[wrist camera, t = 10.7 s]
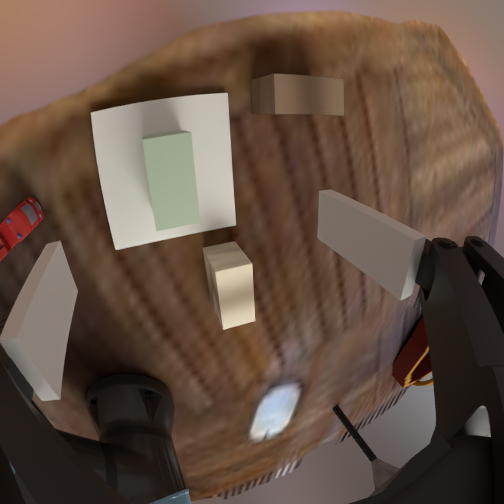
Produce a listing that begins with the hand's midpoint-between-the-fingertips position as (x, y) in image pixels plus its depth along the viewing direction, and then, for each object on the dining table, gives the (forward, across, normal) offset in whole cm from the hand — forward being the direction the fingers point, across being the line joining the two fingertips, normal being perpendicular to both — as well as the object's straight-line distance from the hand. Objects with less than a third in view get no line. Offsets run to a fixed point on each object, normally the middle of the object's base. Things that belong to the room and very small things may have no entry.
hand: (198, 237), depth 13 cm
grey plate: (+19, 0, 0) cm, 19 cm away
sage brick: (+18, 0, 0) cm, 18 cm away
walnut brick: (+19, -14, -7) cm, 25 cm away
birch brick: (+19, -5, +14) cm, 24 cm away
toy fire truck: (+19, +21, +3) cm, 28 cm away
